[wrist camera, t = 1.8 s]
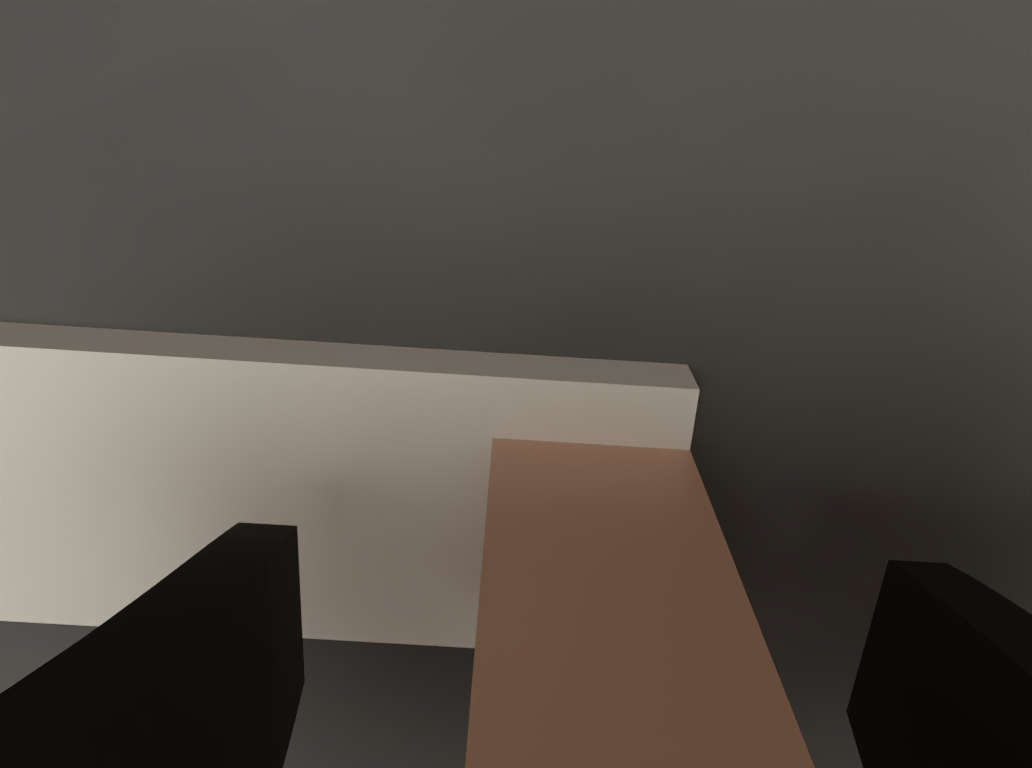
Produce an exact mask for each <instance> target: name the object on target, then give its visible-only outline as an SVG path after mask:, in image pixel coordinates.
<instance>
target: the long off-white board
mask: <svg viewBox="0 0 1032 768" xmlns="http://www.w3.org/2000/svg"><path fill="white" fill-rule="evenodd" d="M699 391H700V389H699V387H698V385H697V383H696V381H695V379H694V377H693V375H692V373H691V371H690V369H689V367H688V365H685V364H669V363H653V362H637V361H621V360H604V359H588V358H572V357H556V356H540V355H524V354H508V353H492V352H476V351H460V350H444V349H427V348H411V347H395V346H379V345H363V344H347V343H331V342H315V341H299V340H283V339H266V338H250V337H234V336H218V335H202V334H186V333H170V332H154V331H138V330H122V329H105V328H89V327H73V326H57V325H41V324H25V323H9V322H0V621H14V622H32V623H49V624H66V625H84V626H100V625H101V624H103V623H104V622H105V621H107V620H108V619H110V618H111V617H112V616H114V615H115V614H116V613H118V612H119V611H120V610H122V609H123V608H124V607H126V606H127V605H129V604H130V603H131V602H133V601H134V600H135V599H137V598H138V597H139V596H141V595H142V594H143V593H145V592H146V591H147V590H149V589H150V588H152V587H153V586H154V585H156V584H157V583H158V582H159V581H161V580H162V579H163V578H165V577H166V576H167V575H169V574H170V573H171V572H173V571H174V570H175V569H177V568H178V567H179V566H180V565H182V564H183V563H184V562H186V561H187V560H188V559H190V558H191V557H192V556H194V555H195V554H196V553H197V552H199V551H200V550H201V549H203V548H204V547H205V546H207V545H208V544H209V543H211V542H212V541H213V540H215V539H216V538H217V537H219V536H220V535H221V534H223V533H224V532H225V531H227V530H228V529H230V528H231V527H233V526H234V525H236V524H237V523H238V522H241V523H258V524H275V525H292V526H297V532H298V553H299V574H300V596H301V617H302V638H308V639H325V640H343V641H360V642H377V643H394V644H412V645H429V646H446V647H463V648H475V653H474V665H473V677H472V689H471V701H470V712H469V724H468V736H467V748H466V760H465V768H815V767H814V764H813V762H812V759H811V757H810V754H809V752H808V749H807V747H806V744H805V741H804V739H803V736H802V734H801V731H800V729H799V726H798V724H797V721H796V719H795V716H794V713H793V711H792V708H791V706H790V703H789V701H788V698H787V696H786V693H785V691H784V688H783V685H782V683H781V680H780V678H779V675H778V673H777V670H776V668H775V665H774V663H773V660H772V657H771V655H770V652H769V650H768V647H767V645H766V642H765V640H764V637H763V635H762V632H761V629H760V627H759V624H758V622H757V619H756V617H755V614H754V612H753V609H752V607H751V604H750V601H749V599H748V596H747V594H746V591H745V589H744V586H743V584H742V581H741V579H740V576H739V574H738V571H737V568H736V566H735V563H734V561H733V558H732V556H731V553H730V551H729V548H728V546H727V543H726V540H725V538H724V535H723V533H722V530H721V528H720V525H719V523H718V520H717V518H716V515H715V512H714V510H713V507H712V505H711V502H710V500H709V497H708V495H707V492H706V490H705V487H704V484H703V482H702V479H701V477H700V474H699V472H698V469H697V467H696V464H695V462H694V459H693V456H692V454H691V451H690V447H691V440H692V434H693V428H694V422H695V416H696V409H697V403H698V397H699Z"/></svg>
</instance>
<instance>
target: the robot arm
mask: <svg viewBox="0 0 1032 768" xmlns="http://www.w3.org/2000/svg"><path fill="white" fill-rule="evenodd" d="M303 685H304V660H303V639H302V617H301V596H300V574H299V553H298V532H297V526H292V525H275V524H258V523H241V522H238V523H237V524H236V525H234V526H233V527H231V528H230V529H228V530H227V531H225V532H224V533H223V534H221V535H220V536H219V537H217V538H216V539H215V540H213V541H212V542H211V543H209V544H208V545H207V546H205V547H204V548H203V549H201V550H200V551H199V552H197V553H196V554H195V555H194V556H192V557H191V558H190V559H188V560H187V561H186V562H184V563H183V564H182V565H180V566H179V567H178V568H177V569H175V570H174V571H173V572H171V573H170V574H169V575H167V576H166V577H165V578H163V579H162V580H161V581H159V582H158V583H157V584H156V585H154V586H153V587H152V588H150V589H149V590H147V591H146V592H145V593H143V594H142V595H141V596H139V597H138V598H137V599H135V600H134V601H133V602H131V603H130V604H129V605H127V606H126V607H124V608H123V609H122V610H120V611H119V612H118V613H116V614H115V615H114V616H112V617H111V618H110V619H108V620H107V621H105V622H104V623H103V624H101V625H100V626H99V627H97V628H96V629H95V630H93V631H92V632H91V633H89V634H88V635H86V636H85V637H84V638H82V639H81V640H79V641H78V642H76V643H75V644H73V645H72V646H70V647H69V648H68V649H66V650H65V651H63V652H62V653H60V654H59V655H57V656H56V657H54V658H53V659H51V660H50V661H48V662H47V663H45V664H44V665H42V666H41V667H39V668H38V669H36V670H35V671H33V672H32V673H30V674H29V675H28V676H26V677H25V678H23V679H22V680H20V681H19V682H17V683H16V684H14V685H13V686H11V687H10V688H8V689H7V690H5V691H4V692H2V693H1V694H0V768H283V765H284V761H285V757H286V753H287V749H288V746H289V742H290V738H291V734H292V730H293V726H294V722H295V718H296V714H297V710H298V706H299V702H300V698H301V693H302V689H303ZM847 714H848V718H849V721H850V725H851V728H852V731H853V735H854V738H855V741H856V745H857V748H858V752H859V755H860V758H861V762H862V765H863V768H1032V615H1031V614H1030V613H1028V612H1027V611H1025V610H1024V609H1022V608H1021V607H1019V606H1018V605H1016V604H1014V603H1013V602H1011V601H1010V600H1008V599H1007V598H1005V597H1003V596H1002V595H1000V594H999V593H997V592H996V591H994V590H992V589H991V588H989V587H987V586H986V585H984V584H982V583H981V582H979V581H977V580H976V579H974V578H972V577H971V576H969V575H967V574H965V573H964V572H962V571H960V570H958V569H956V568H954V567H952V566H951V565H949V564H947V563H931V562H913V561H896V560H889V561H888V564H887V568H886V572H885V575H884V579H883V582H882V586H881V590H880V593H879V597H878V600H877V604H876V607H875V611H874V615H873V618H872V622H871V625H870V629H869V633H868V636H867V640H866V643H865V647H864V650H863V654H862V658H861V661H860V665H859V668H858V672H857V676H856V679H855V683H854V686H853V690H852V694H851V697H850V701H849V704H848V708H847Z"/></svg>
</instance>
